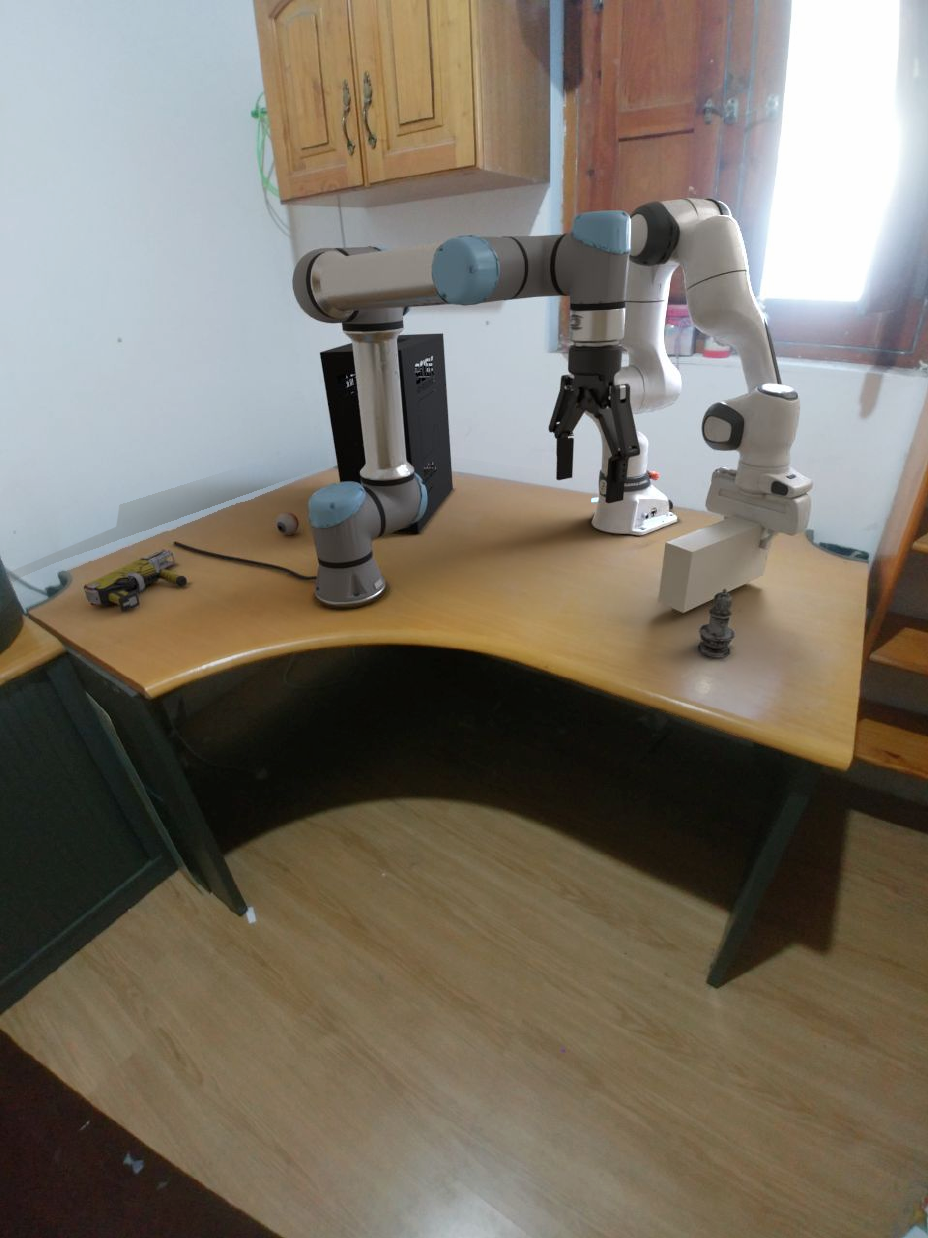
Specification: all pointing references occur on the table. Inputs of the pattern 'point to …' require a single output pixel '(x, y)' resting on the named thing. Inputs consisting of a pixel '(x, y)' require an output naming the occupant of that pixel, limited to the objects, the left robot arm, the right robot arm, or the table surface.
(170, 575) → the toy gun
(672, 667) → the table surface
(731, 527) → the box
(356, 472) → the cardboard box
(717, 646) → the dark grey chess piece
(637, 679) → the table surface
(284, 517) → the eyeball
